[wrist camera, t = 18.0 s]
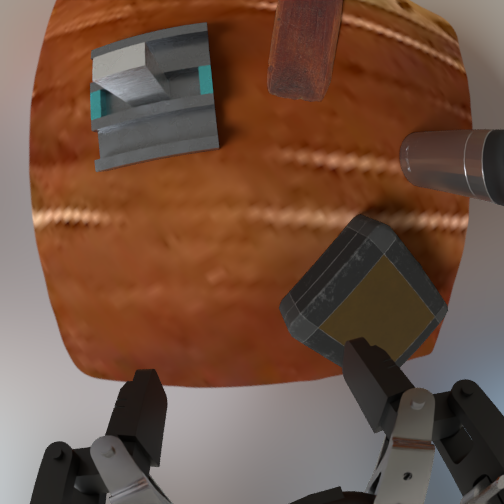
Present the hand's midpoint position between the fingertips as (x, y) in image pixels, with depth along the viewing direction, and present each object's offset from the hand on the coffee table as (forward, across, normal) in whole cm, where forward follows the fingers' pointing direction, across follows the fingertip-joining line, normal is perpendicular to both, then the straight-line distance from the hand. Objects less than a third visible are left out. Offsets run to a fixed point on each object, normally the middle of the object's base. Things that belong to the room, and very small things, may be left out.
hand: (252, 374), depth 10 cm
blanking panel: (+27, +8, -19) cm, 34 cm away
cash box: (+29, -21, +15) cm, 39 cm away
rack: (+28, +8, -20) cm, 35 cm away
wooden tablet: (+29, -14, -29) cm, 44 cm away
